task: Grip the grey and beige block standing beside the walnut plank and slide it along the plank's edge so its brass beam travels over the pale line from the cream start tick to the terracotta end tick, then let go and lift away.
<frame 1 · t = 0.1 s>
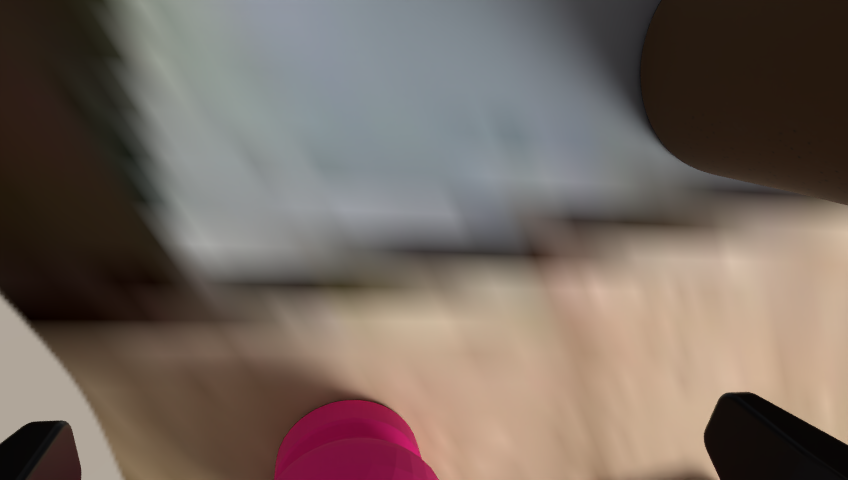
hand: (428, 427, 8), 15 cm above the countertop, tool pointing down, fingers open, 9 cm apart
olive oil: (734, 67, 24), on the countertop
pepper mill: (348, 459, 25), on the countertop
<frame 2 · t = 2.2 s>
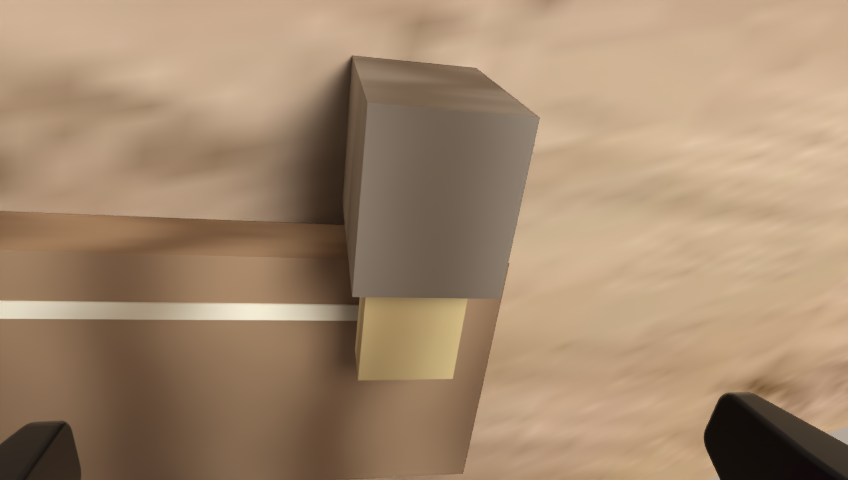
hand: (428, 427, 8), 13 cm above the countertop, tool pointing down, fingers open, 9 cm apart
plank: (170, 339, 21), on the countertop
grey and beige block: (406, 138, 19), on the countertop
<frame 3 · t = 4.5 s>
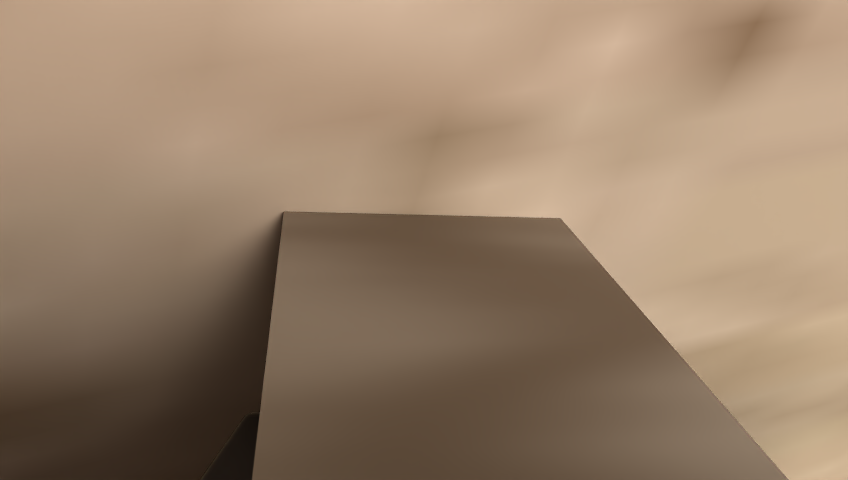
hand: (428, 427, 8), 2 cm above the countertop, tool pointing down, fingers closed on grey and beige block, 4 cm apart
grey and beige block: (412, 355, 9), on the countertop, touching gripper
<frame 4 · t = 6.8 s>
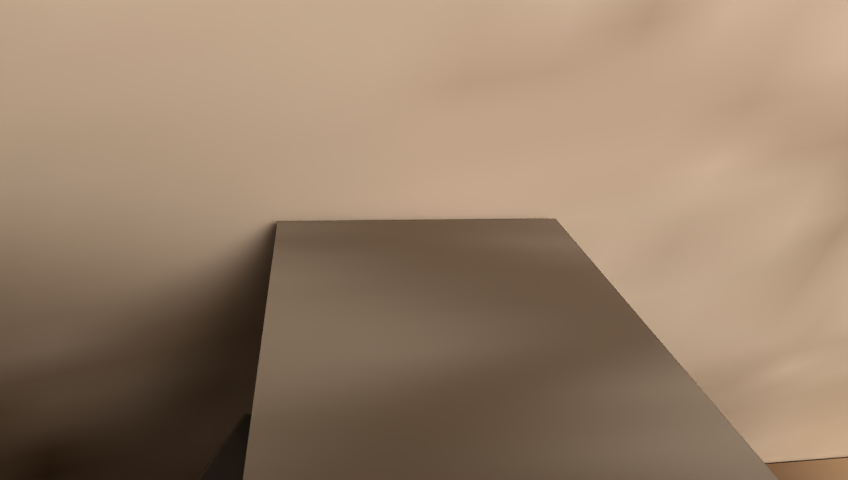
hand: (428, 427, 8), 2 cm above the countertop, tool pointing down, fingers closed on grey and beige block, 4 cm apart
grey and beige block: (412, 359, 9), on the countertop, touching gripper
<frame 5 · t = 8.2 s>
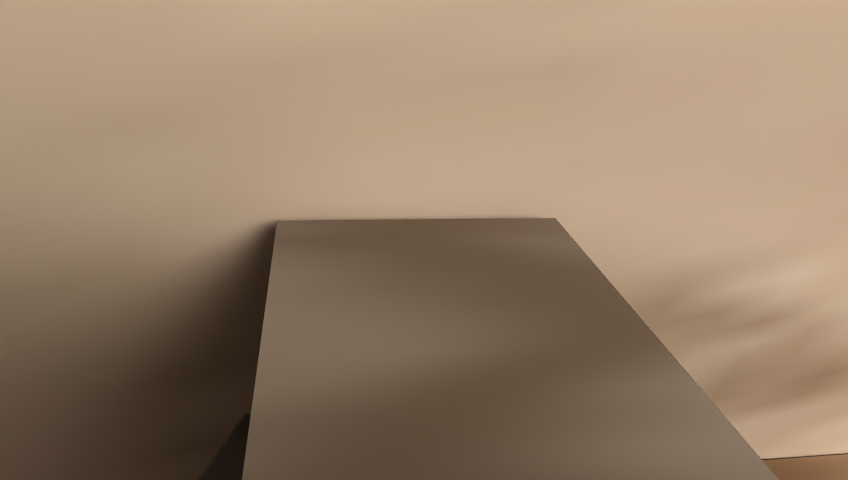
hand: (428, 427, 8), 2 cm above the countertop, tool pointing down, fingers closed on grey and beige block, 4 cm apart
grey and beige block: (411, 358, 9), on the countertop, touching gripper
when the fingers open (2 cm above the countertop, at t = 9.5 s): grey and beige block stays where it is, on the countertop.
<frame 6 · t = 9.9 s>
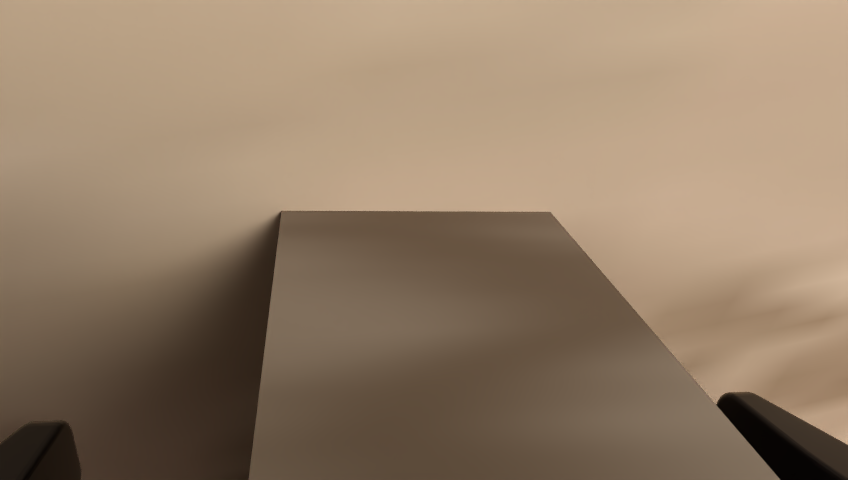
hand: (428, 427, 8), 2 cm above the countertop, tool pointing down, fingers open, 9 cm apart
grey and beige block: (409, 346, 9), on the countertop
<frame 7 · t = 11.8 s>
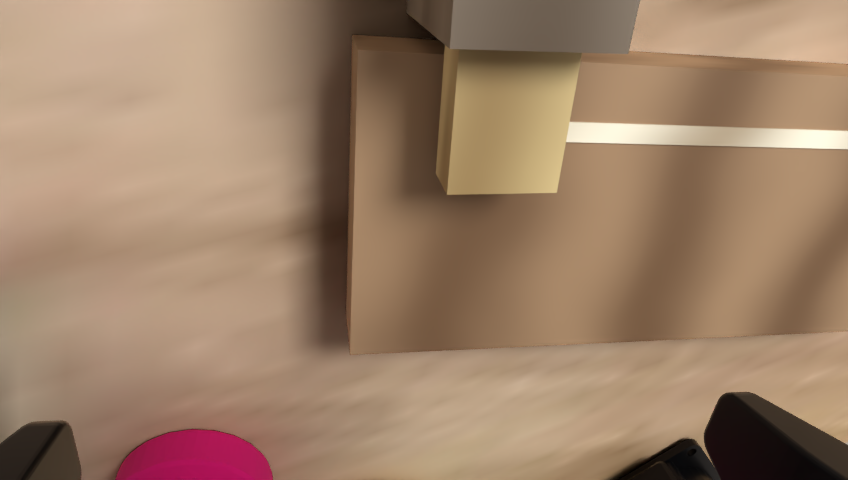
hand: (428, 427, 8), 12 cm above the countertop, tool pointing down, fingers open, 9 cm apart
pepper mill: (198, 476, 24), on the countertop
plank: (656, 192, 21), on the countertop
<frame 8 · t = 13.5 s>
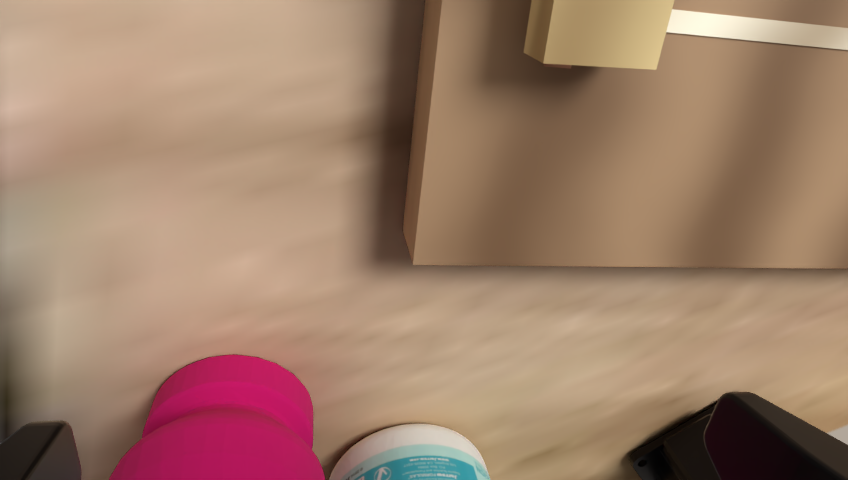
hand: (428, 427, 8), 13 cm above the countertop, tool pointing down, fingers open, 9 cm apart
pepper mill: (236, 409, 23), on the countertop
pill bottle: (405, 469, 27), on the countertop
plank: (729, 112, 20), on the countertop
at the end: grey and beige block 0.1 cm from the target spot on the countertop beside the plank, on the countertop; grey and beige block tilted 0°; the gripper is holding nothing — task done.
